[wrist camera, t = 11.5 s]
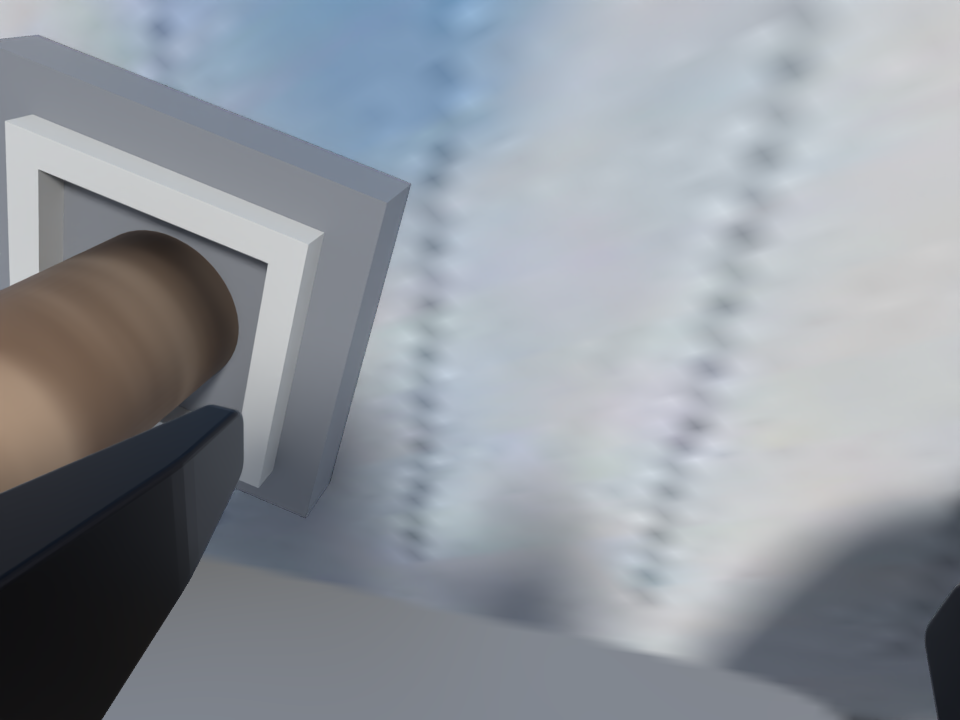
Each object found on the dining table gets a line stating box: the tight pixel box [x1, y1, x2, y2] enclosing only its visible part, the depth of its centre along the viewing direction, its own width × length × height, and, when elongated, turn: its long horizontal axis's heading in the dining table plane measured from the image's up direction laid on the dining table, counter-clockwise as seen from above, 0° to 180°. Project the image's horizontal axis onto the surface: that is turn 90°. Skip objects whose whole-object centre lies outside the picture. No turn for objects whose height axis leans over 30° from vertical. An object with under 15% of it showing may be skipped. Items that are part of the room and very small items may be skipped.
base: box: [0, 35, 411, 518], centre depth 23 cm, size 12×12×3 cm
